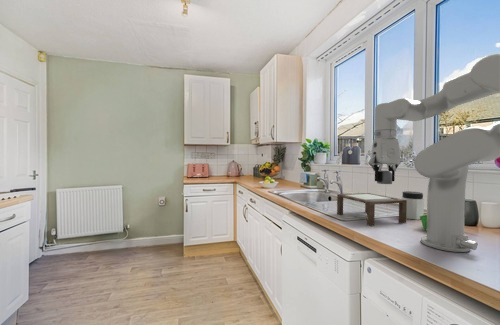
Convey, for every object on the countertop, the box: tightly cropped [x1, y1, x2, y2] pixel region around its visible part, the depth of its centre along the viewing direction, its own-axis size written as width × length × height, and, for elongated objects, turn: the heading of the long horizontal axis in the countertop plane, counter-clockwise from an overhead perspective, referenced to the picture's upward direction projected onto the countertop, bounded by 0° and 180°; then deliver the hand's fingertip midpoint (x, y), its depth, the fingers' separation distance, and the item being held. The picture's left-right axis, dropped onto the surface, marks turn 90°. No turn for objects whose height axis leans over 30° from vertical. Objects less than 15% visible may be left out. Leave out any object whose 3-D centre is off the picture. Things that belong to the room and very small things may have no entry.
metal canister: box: [376, 169, 393, 185], centre depth 97 cm, size 5×5×5 cm
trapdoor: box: [346, 193, 395, 201], centre depth 115 cm, size 17×14×2 cm
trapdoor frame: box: [336, 192, 407, 227], centre depth 115 cm, size 22×19×10 cm
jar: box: [401, 190, 425, 221], centre depth 117 cm, size 9×8×12 cm
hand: (384, 180), depth 97 cm, fingers closed on metal canister, 5 cm apart
